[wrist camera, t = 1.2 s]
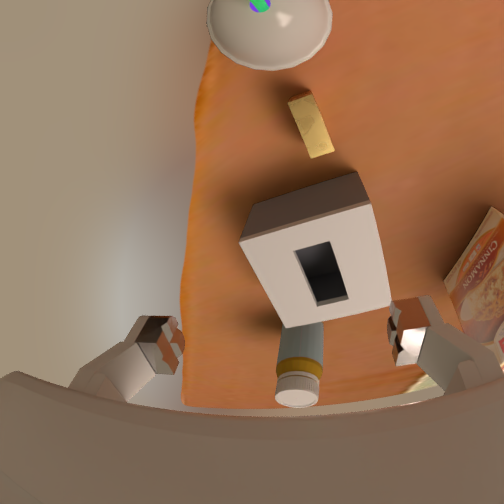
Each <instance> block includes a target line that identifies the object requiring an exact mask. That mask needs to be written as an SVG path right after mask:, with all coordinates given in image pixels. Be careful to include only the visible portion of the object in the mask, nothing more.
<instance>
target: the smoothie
mask: <svg viewBox="0 0 504 504" xmlns="http://www.w3.org/2000/svg"><path fill="white" fill-rule="evenodd" d="M332 14H333V13H332V10H331V7H330V4H329V0H211V1H210V3H209V5H208V7H207V22H206V24H207V27H208V30H209V34H210V37H211V40H212V41H213V42H214V44H215V45H216V46H217V47H218V49H219V50H220V51H221V53H223V54H224V55H225V56H227V57H228V58H230V59H231V60H232V61H234V62H235V63H237V64H240V65H243V66H246V67H249V68H252V69H255V70H269V71H276V70H281V69H286V68H291V67H295V66H297V65H299V64H301V63H303V62H305V61H307V60H309V59H311V58H312V57H313V56H314V55H315V54H316V53H317V52H318V51H319V50H320V49H321V48H322V47H323V46H324V44H325V42H326V40H327V38H328V36H329V34H330V32H331V28H332Z"/></svg>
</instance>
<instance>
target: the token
mask: <svg viewBox="0 0 504 504" xmlns="http://www.w3.org/2000/svg"><path fill="white" fill-rule="evenodd" d="M287 103H288V106H289V108H290V110H291V112H292V115H293V117H294V119H295V121H296V124H297V126H298V128H299V131H300V133H301V135H302V138H303V140H304V143H305V145H306V148H307V150H308V152H309V155H310V157H311V158H314V157H317V156H321V155H324V154H327V153H330V152H333V151H335V150H334V147H333V144H332V141H331V138H330V135H329V133H328V130H327V128H326V125H325V123H324V120H323V118H322V115H321V113H320V110H319V108H318V105H317V103H316V101H315V98H314V96H313V94H312V91H308V92H305V93H302V94H299V95H297V96H294V97H291V98H290V99H289V101H288V102H287Z"/></svg>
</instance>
